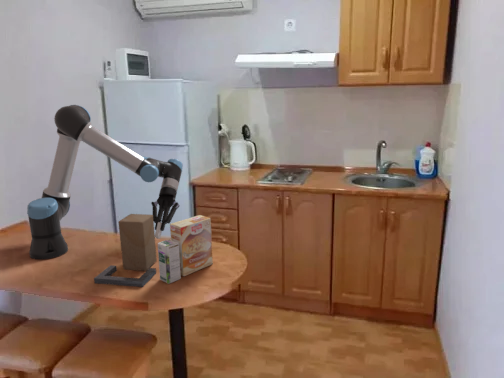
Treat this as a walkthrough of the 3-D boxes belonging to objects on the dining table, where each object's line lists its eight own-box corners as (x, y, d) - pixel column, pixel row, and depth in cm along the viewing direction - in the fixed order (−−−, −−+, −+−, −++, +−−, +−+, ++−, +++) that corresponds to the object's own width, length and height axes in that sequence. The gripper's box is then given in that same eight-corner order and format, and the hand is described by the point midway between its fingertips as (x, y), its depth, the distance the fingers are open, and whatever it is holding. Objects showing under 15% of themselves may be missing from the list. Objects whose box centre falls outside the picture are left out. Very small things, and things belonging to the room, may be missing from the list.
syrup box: (159, 279, 155) (156, 242, 151) (172, 274, 159) (169, 238, 156) (168, 284, 151) (165, 246, 148) (181, 278, 155) (179, 242, 152)
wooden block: (146, 271, 162) (142, 222, 158) (122, 269, 164) (117, 221, 160) (157, 261, 172) (153, 214, 167) (134, 259, 174) (130, 213, 169)
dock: (94, 283, 153) (94, 278, 153) (111, 269, 164) (110, 265, 164) (142, 287, 150) (142, 281, 149) (156, 273, 160) (155, 268, 160)
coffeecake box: (183, 276, 157) (180, 227, 152) (172, 271, 162) (168, 223, 157) (213, 264, 167) (211, 217, 163) (202, 259, 172) (199, 214, 168)
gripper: (184, 194, 194) (174, 241, 182) (158, 193, 196) (146, 240, 185) (179, 186, 188) (168, 234, 176) (152, 185, 190) (139, 233, 178)
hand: (157, 237), depth 180 cm, fingers closed
